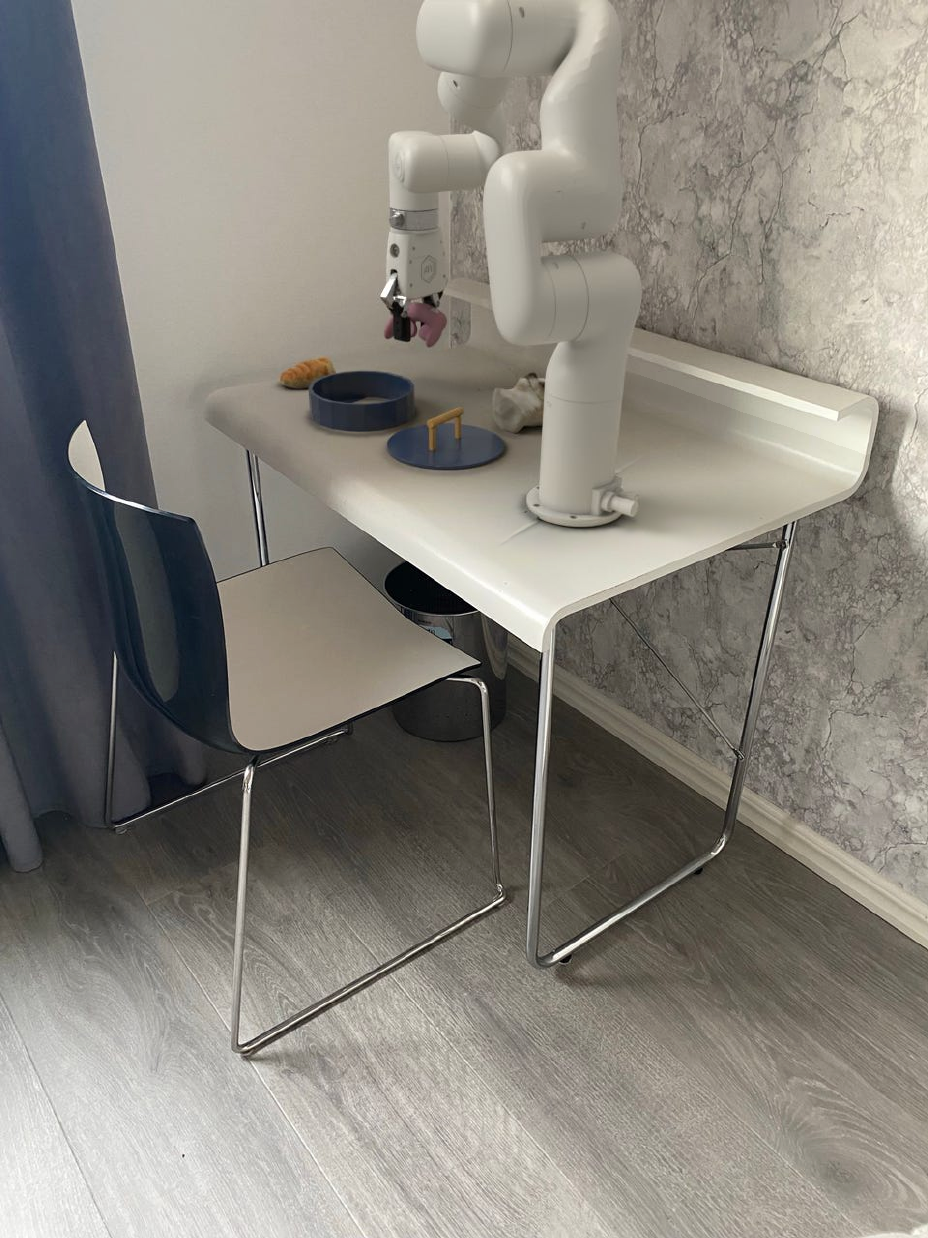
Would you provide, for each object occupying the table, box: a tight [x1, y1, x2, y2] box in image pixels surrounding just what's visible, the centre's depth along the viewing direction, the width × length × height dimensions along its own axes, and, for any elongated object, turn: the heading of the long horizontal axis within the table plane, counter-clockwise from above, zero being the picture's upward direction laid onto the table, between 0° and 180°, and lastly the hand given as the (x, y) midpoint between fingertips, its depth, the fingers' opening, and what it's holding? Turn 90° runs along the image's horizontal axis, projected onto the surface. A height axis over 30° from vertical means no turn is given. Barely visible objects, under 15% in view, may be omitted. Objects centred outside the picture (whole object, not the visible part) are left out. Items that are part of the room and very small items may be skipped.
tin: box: [308, 370, 416, 433], centre depth 156 cm, size 16×16×5 cm
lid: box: [386, 406, 505, 471], centre depth 144 cm, size 17×17×6 cm
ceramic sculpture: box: [492, 372, 545, 434], centre depth 152 cm, size 11×9×15 cm
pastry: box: [279, 356, 337, 390], centre depth 170 cm, size 9×7×4 cm
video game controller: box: [383, 301, 448, 349], centre depth 163 cm, size 10×5×7 cm, turn 58°
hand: (415, 334), depth 164 cm, fingers closed on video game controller, 6 cm apart
